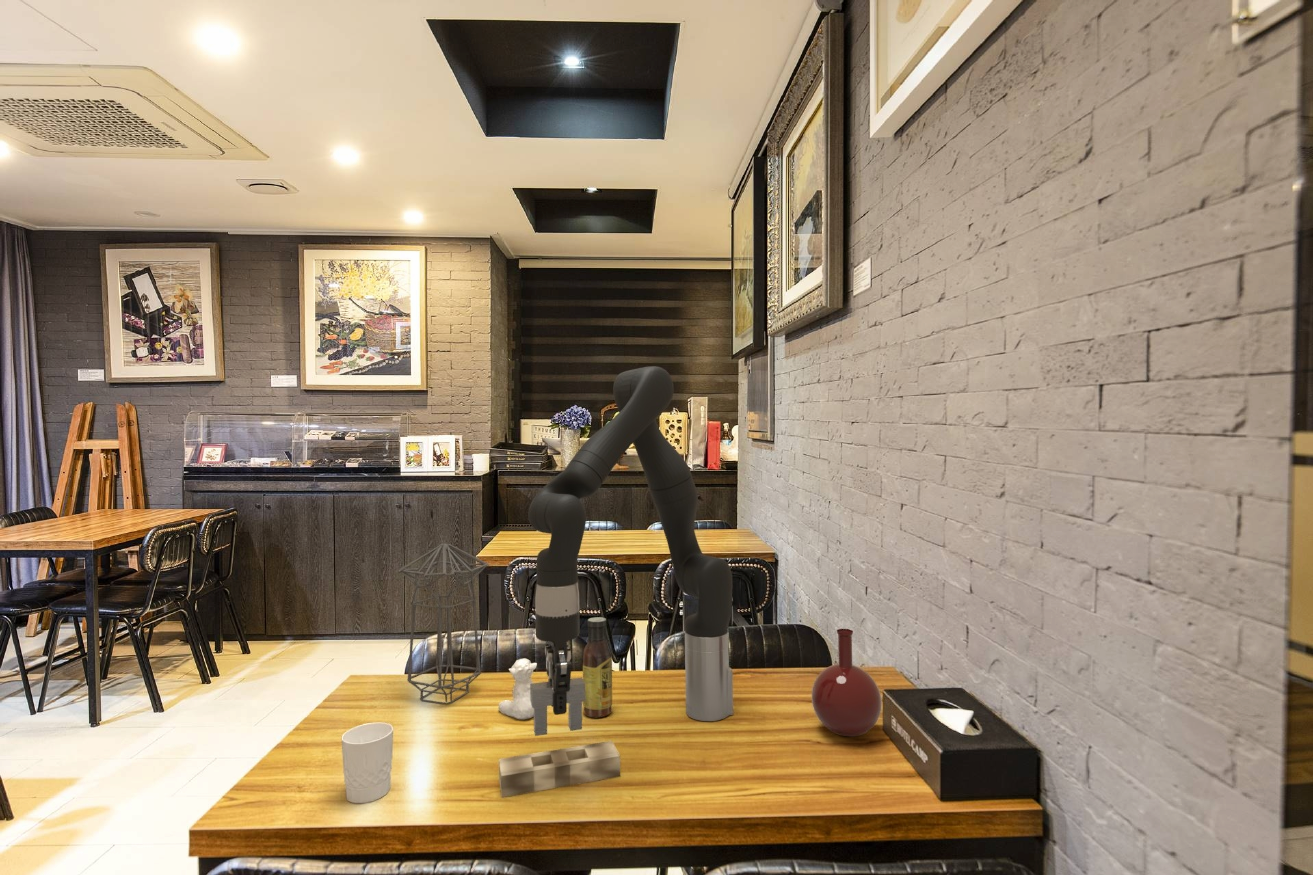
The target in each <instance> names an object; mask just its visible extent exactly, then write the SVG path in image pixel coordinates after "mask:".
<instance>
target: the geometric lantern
mask: <svg viewBox="0 0 1313 875" xmlns="http://www.w3.org/2000/svg"><path fill="white" fill-rule="evenodd" d="M441 553H442V561H439V560H440V557H441ZM446 553H447V554H448V558H449V561H448V560H447V558H446V557H447V554H446ZM461 555H463V556H465V557H467V558H469V559H471V560H473V561H476V563H470V562H468V561H467V560H466V559H465V558H463V557H462V556H461ZM427 556H429V557H427ZM425 557H427V558H426V560H424V561H423V563H422V564H421V565H420V566H419V567H418V568H409V567H410V566H412V565H413V564H415V563H417V562H419V561H421V560H422V559H424V558H425ZM436 560H437V561H436ZM439 564H442V572H437V573H436V572H435V573H434V571H435V570H436V568H437V567H438V565H439ZM453 566H454V567H455V568H454V567H453ZM476 566H477V567H476ZM487 566H490V564H489V563H488V562H486V561H484V560H481V558H478V557H476V556H474V555H472V554H470V553H469V552H466V551H464V550H462V549H460V548H458V547H456V546H454V545H452V544H450V543H441V544H439V545H438V546H436V547H435V548H433V549H432V550H430V551H428V552H426V553H425V554H423V555H421V556H419V557H418V558H416V559H415V560H413V561H411V562H409V563H407V564H406V565H404V566H402V567H400V568H399V569H398V573H400V574H402V575H403V576H404V577H405V578H406V579H407V580H408V581H409V582H411V584H413V585H414V586H415V590H414V592H413V593H414V594H413V597H412V600H411V603H410V604H411V616H410V640H409V641H410V642H409V658H408V669H407V670H408V671H407V683H409V684H411V685H412V686H414V688H416V689H417V690H419V692H420V698H419V700H420V701H421V702H425V703H433V704H439V705H445V706H446V705H449V704H453V703H454V702H456V701H458V699H461V698H462V697H464V696H465V695H467V694H468V693H470V684H471V683H472V682H473V681H474V680H475V679H477V678H478V677H479V676H480V675H481V674H482V672H481V660H480V659H481V658H480V649H479V637H478V635H479V634H478V625H477V624H478V621H477V620H478V619H477V602H476V601H477V600H476V599H477V597H476V594H475V588H474V587H475V586H474V580H475V578H476V577H478V575H480V574H481V572H483V570H484V569H486V568H487ZM432 567H433V568H432ZM447 568H449V569H450V570H451V571H450V573H447ZM464 569H466V570H464ZM423 570H426V571H425V572H422V571H423ZM430 570H431V571H430ZM469 573H470V574H469ZM413 574H414V575H413ZM465 574H469V575H465ZM420 575H421V576H423V578H420ZM456 575H457V576H456ZM435 576H437V577H435ZM443 576H452V577H453V578H454V579H455V582H454V583H453V585H452V587H451V588H450V590H449V592H448V593H447V594H440V593H439V591H438V590H437V589H436V588H435V586H434V585H433V583H435V582H437V581H438V580H440V579H441V578H442V577H443ZM431 577H435V578H434V579H432V580H431V581H430V579H431ZM461 578H462V580H460V579H461ZM465 579H466V581H465ZM420 582H424V584H420ZM427 582H428V583H427ZM457 583H458V585H457ZM456 585H457V586H456ZM466 585H467V586H468V590H469V594H470V596H468V595H467V596H466V595H455V594H456V592H457V590H458V589H459V587H460V586H461V587H465V586H466ZM455 587H456V588H455ZM420 588H422V589H423V588H427V589H428V590H429V592H430V593H431V595H432V596H431V597H428V598H425V599H422V600H418V601H417V598H418V593H419V589H420ZM432 588H433V589H434V591H435V592H436V594H437V595H436V594H435V593H434V591H433V589H432ZM453 590H454V592H453ZM452 592H453V593H452ZM451 593H452V594H451ZM442 598H446V604H445V605H442ZM453 598H463V599H470V600H467V601H462V602H459V603H457V604H454V605H450V602H451V600H453ZM430 600H435V602H436V603H437V605H428V604H419V603H423V602H426V601H430ZM468 603H471V604H472V615H473V626H474V643H475V644H474V646H475V647H474V648H475V667H472V666H462V665H455V664H454V656H453V640H452V639H453V638H452V620H451V619H452V618H451V608H455V607H457V606H461V605H464V604H468ZM417 607H421V608H422V607H424V608H425V607H426V608H435V609H438V612H437V613H438V614H437V615H438V616H437V631H436V632H437V634H436V635H437V636H436V655H435V666H433V667H430V668H428V669H426V670H422V671H421V672H419V673H416V674H414V675H412V670H413V669H412V667H413V666H412V665H413V664H412V663H413V646H414V634H415V622H416V612H417V611H416V610H417V609H416V608H417ZM443 609H446V642H447V643H446V647H447V648H446V651H447V653H446V654H447V657H446V658H447V660H446V662H447V664H442V663H443V662H442V661H443V660H442V659H443V658H442V655H443V654H442V653H443V651H442V647H443V646H442V645H443V644H442V640H443V639H442V638H443V633H442V631H443V616H442V614H443ZM442 668H446V670H445V672H444V675H443V678H442V673H443V672H442ZM449 668H450V677H451V678H450V679H448V678H446V677H447V673H448V670H449ZM454 668H455V669H465V670H472V671H474V672H473V673H472V674H471V675H469V676H467V677H464V678H462V679H460V680H459V679H455V676H454ZM435 669H436V673H437V678H438V680H436V681H433V682H431V683H428V682H427V683H426V682H421V681H415V680H413V679H414V678H417V677H420V676H422V675H424V674H426V673H429V672H430V671H433V670H435ZM446 682H451V683H447V684H445V683H446ZM436 683H437V684H436ZM461 683H464V684H463V685H461V686H459V687H455V686H456V685H459V684H461ZM419 686H423V687H422V688H421V687H419ZM427 688H435V689H433V690H425V689H427ZM445 689H450V690H449V692H446V690H445ZM437 690H441V691H442V692H441V691H440V692H439V691H437ZM458 690H459V691H466V692H464V693H463V694H461V695H459V696H457V697H455V699H453V693H455V692H456V691H458ZM424 693H426V694H425V695H424ZM431 694H437V695H442V696H443V695H444V696H445V697H444V698H445V699H444V700H445V702H444V701H438V700H429V699H424V698H426V697H427V696H429V695H431ZM448 695H450V698H449V699H450V700H449V701H448Z"/></svg>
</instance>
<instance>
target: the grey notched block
mask: <svg viewBox="0 0 1313 875" xmlns="http://www.w3.org/2000/svg"><path fill="white" fill-rule="evenodd" d="M562 684H564V682H560V683H559V684H558V685H562ZM530 701H531V705H532V708H534V717H533V732H534V733H533V734H534V736H535V737H538V736H545V735H548V707H549V706H550V707H552V706H551V705H553V691H552V681H549V682H548V681H542V682H533V683H532V684H530ZM583 701H585V682H584V681H583V677H575V678H570V690H569V691H568V692H567V704H568V705H567V706H568V710H567V711H568V729H569V730H570V731H572V732H573V731H580V730H583Z"/></svg>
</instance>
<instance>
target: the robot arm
mask: <svg viewBox="0 0 1313 875" xmlns="http://www.w3.org/2000/svg"><path fill="white" fill-rule="evenodd" d="M674 387H675V386H674V381H673V379H672V377H671V374H670V373H669V372H668V371H667V370H666V369H664V368H663V367H660V366H653V365H651V366H644V367H639V368H635V369H634V368H633V369H630V370H629V369H628V370H625V371H622V372H620V373H619V374H618V375H617V376H616V378H615V380H614V381H613V388H612V390H613V391H612V392H613V393H612V394H613V399H614V403H615V406H616V407H617V410H618V413H617V414H616V415H615V416H614V417H613V418H612V419H611V420H609V421H608V422H607V423H606V424H605V425H604V426H602V427H601V428H600V429H598V430H597V431H596V432H595V433H593V434H592V435H591V436H590V437H589V438H588V439H587V440H586V441H584V443H583V444H582V445H581V446H580V448H579V449H578V451H577V452H576V453H575V455H574V456H573V457H572V459H571V460H570V461H569V463H568V464H567V465H566V468H564V469H563V470H562V471H561V472H560V473H559V474H557V475H556V476H555V477H553V478H552V479H551V480H550V481H549V482H548V483H547V484H545V485H544V486H543V488H541V489H540V490H539V491H538V493H537V494H536V495H534V498H533V499H532V501H531V502H530V505H529V508H528V512H527V513H528V515H527V516H528V521H529V524H530V526H531V527H532V528H533V529H534V530H535V531H538V532H540V533H543V534H551V536H550V541H549V545H548V547H546V548H544V549H541V550H540V551H539V552H538V554H537V557H536V588H535V589H536V591H535V598H534V599H535V600H534V602H535V609H534V610H535V616H534V618H535V620H534V621H535V637H536V638H537V639H538V640H539V641H542V642H545V643H544V653H545V654H544V655H545V667H546V676H547V677H548V680H547V682H549V681H552V691H553V705H551V706H550V707H552V711H553V712H552V713H553V714H554V715H557V716H558V715H565V714H566V713H567V711H568V710H567V706H568V705H567V704H568V703H567V692H568V691H569V690H570V679H572V678H571V677H572V676H571V675H572V666H573V664H572V661H571V659H572V651H571V650H572V649H571V648H569V644H568V642H569V641H571V640H574V639H576V638H577V637H578V636H579V635H580V591H579V584H578V583H579V582H578V580H579V579H578V578H579V576H578V575H579V574H578V573H579V572H578V571H579V570H578V557H579V554H580V550H581V547H582V546H581V545H582V542H583V538H584V533H585V529H586V525H587V524H586V523H587V515H586V509H585V507H584V504H583V502H582V500H581V499H583V498H587V497H591V496H593V495H594V494H595V493H597V491H598V490H599V489H600V487H601V486H602V485H603V483H604V481H605V480H606V479H607V477H608V476H609V475H610V473H611V472H612V470H613V468H614V467H615V466H616V464H617V463H618V461H619V460H620V459H621V457H623V455H624V454H625V453H626V451H627V450H628V449H629V448H630V447H631V445H632V444H633V446H634V449H635V451H636V454H637V456H638V459H639V462H640V464H641V467H642V471H643V474H644V476H645V479H646V482H647V486H648V489H649V493H650V496H651V498H652V501H653V504H654V506H655V509H656V512H657V514H658V517H659V520H660V524H661V526H662V530H663V533H664V536H665V539H666V542H667V546H668V550H669V554H670V559H671V564H672V569H673V572H674V576H675V580H676V583H677V585H678V587H679V589H680V590H681V591H682V592H683V593H684V594H685V595H687V596H689V597H692V598H694V599H697V600H698V601H697V602H698V604H697V612H695V613H692V614H690V615H688V616H686V618H685V620H684V662H685V663H684V666H685V673H684V674H685V712H686V716H688V717H689V718H691V719H693V720H697V721H703V722H715V721H721V720H723V719H726V718H727V717H729V716H733V715H734V694H733V693H734V688H733V687H734V682H733V677H734V676H733V673H734V672H733V669H732V668H731V667H730V665H729V664H730V663H729V662H730V661H729V660H730V659H729V624H730V621H731V617H732V612H733V611H732V609H733V605H732V604H733V573H732V570H731V567H730V565H729V563H728V561H726V560H724V559H723V558H720V557H716V556H710V555H708V554H707V555H705V554H704V553H703V552H702V549H701V548H700V545H699V542H698V538H697V536H696V531H695V521H696V515H697V512H698V511H697V510H698V505H699V504H698V503H699V500H698V499H699V497H698V492H697V491H698V490H697V488H696V487H697V486H696V484H695V481H694V479H693V475H692V472H691V469H690V468H689V465H688V463H687V462H686V460H685V459H684V458H683V457H682V455H681V454H680V453H679V452H678V451H677V449H676V448H675V447H674V446H673V445H672V444H671V442H669V440H668V439H667V438H666V437H665V436H664V435H663V433H662V431H661V430H660V428H659V424H657V423H658V422H657V420H656V419H657V418H658V417H659V416H661V414H662V413H663V411H665V410H666V409H667V408H668V407H669V405H670V403H671V402H672V399H673V397H674V391H675V389H674ZM560 682H564V684H562V685H558V684H559V683H560Z"/></svg>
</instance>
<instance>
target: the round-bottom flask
mask: <svg viewBox="0 0 1313 875" xmlns="http://www.w3.org/2000/svg"><path fill="white" fill-rule="evenodd" d="M836 634H837V640H838V642H837V647H838V648H837V649H838V650H837V651H838V652H837V653H838V663H836V664H832V665H830V666H828V667H826V668H824V669H823V670H822V671H820V673H819V674H818V675H817V677H816V678H815V680H814V683H813V685H812V690H811V703H812V708H813V710H814V713H815V715H816V717H817V718H818V720H819V721H820V723H821V724H822V725H823V726H824V727H825V728H826V729H828V730H830V732H833V733H834V734H837V735H839V736H843V737H857V736H862V735H863V734H866V733H868V732H869V731H870V730H871V729H872V728H874V726H875V725H876V724H877V722H878V720H879V718H880V716H881V711H882V708H883V707H882V706H883V705H882V704H883V703H882V694H881V692H880V689H879V686H878V685H877V683H876V681H875V679H874V678H873V677H872V676H871V675H870V674H869V673H867V671H866V670H865V669H862V668H861V667H859V666H857V665H854V664H853V638H852V637H853V634H854V631H853V630H852V629H850V628H849V629H848V628H838V629H836Z"/></svg>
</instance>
